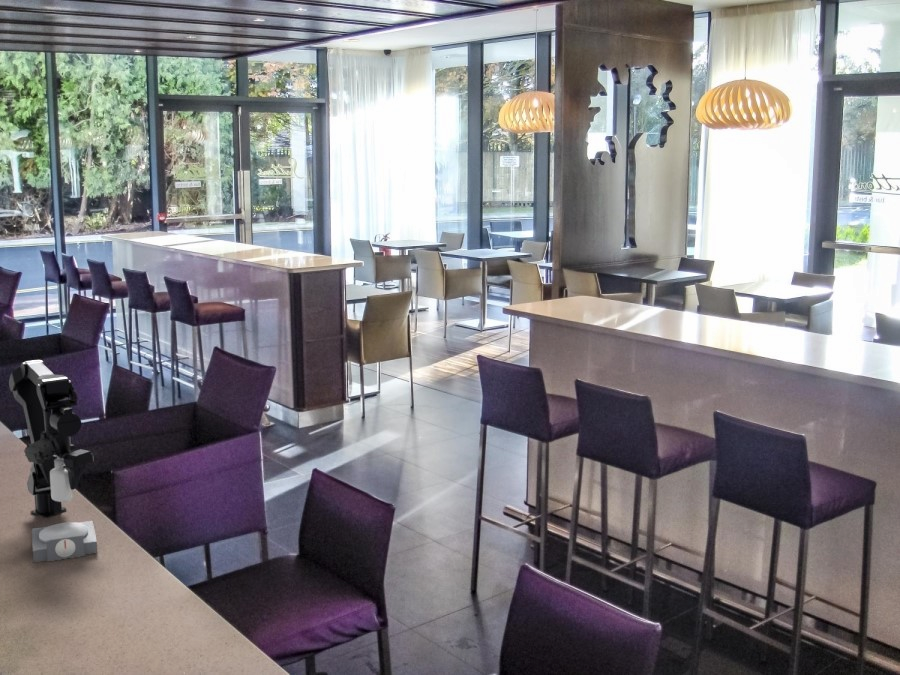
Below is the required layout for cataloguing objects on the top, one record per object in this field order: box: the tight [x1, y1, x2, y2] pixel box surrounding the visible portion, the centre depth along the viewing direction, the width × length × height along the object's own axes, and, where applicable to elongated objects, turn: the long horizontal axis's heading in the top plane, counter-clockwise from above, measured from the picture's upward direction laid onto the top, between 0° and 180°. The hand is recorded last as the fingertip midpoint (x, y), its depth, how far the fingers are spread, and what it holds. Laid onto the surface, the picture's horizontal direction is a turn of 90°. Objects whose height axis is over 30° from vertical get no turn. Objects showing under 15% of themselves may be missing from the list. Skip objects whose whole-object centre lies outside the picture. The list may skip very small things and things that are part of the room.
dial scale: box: [31, 520, 98, 564], centre depth 226 cm, size 15×14×5 cm
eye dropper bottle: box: [50, 456, 74, 503], centre depth 236 cm, size 4×6×12 cm
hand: (61, 486), depth 236 cm, fingers closed on eye dropper bottle, 8 cm apart
